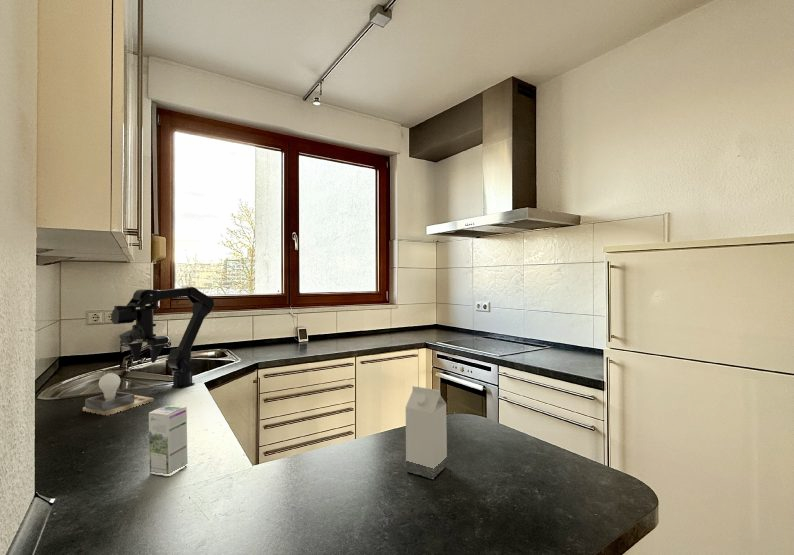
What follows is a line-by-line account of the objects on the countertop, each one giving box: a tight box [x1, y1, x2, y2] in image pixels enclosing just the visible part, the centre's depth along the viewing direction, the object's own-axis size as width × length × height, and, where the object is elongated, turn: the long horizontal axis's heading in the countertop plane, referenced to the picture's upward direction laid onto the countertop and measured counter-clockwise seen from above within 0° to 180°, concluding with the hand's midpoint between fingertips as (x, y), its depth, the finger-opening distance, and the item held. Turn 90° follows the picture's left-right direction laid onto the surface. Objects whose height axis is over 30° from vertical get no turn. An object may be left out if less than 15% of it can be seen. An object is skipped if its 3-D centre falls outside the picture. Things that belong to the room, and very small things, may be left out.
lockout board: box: [82, 390, 154, 417], centre depth 138 cm, size 16×13×4 cm
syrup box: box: [148, 405, 189, 474], centre depth 91 cm, size 6×6×14 cm
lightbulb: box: [98, 372, 121, 401], centre depth 135 cm, size 6×6×11 cm
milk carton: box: [405, 385, 448, 469], centre depth 90 cm, size 7×7×19 cm
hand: (144, 361), depth 150 cm, fingers open, 9 cm apart
